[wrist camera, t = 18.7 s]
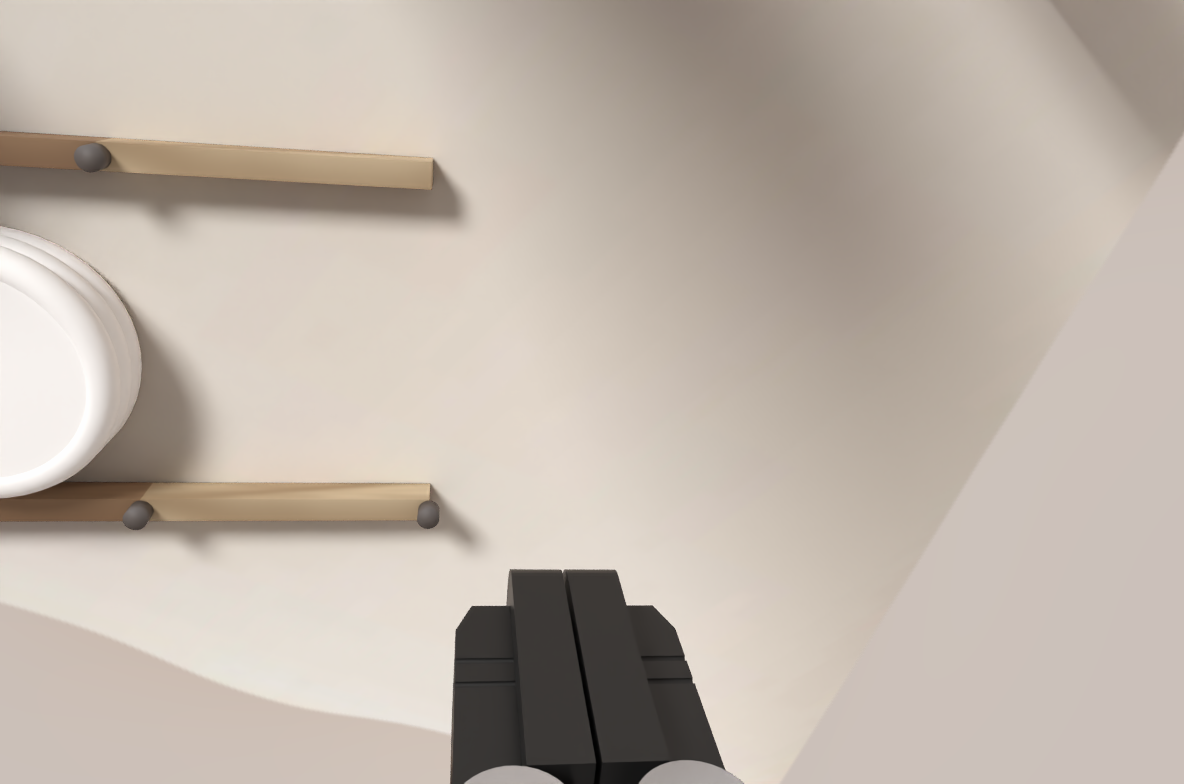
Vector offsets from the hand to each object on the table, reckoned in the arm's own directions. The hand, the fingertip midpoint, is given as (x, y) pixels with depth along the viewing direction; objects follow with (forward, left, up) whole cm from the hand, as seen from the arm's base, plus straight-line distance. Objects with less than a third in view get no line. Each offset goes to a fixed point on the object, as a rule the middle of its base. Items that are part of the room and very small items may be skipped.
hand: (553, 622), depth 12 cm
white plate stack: (+4, -19, -25) cm, 31 cm away
